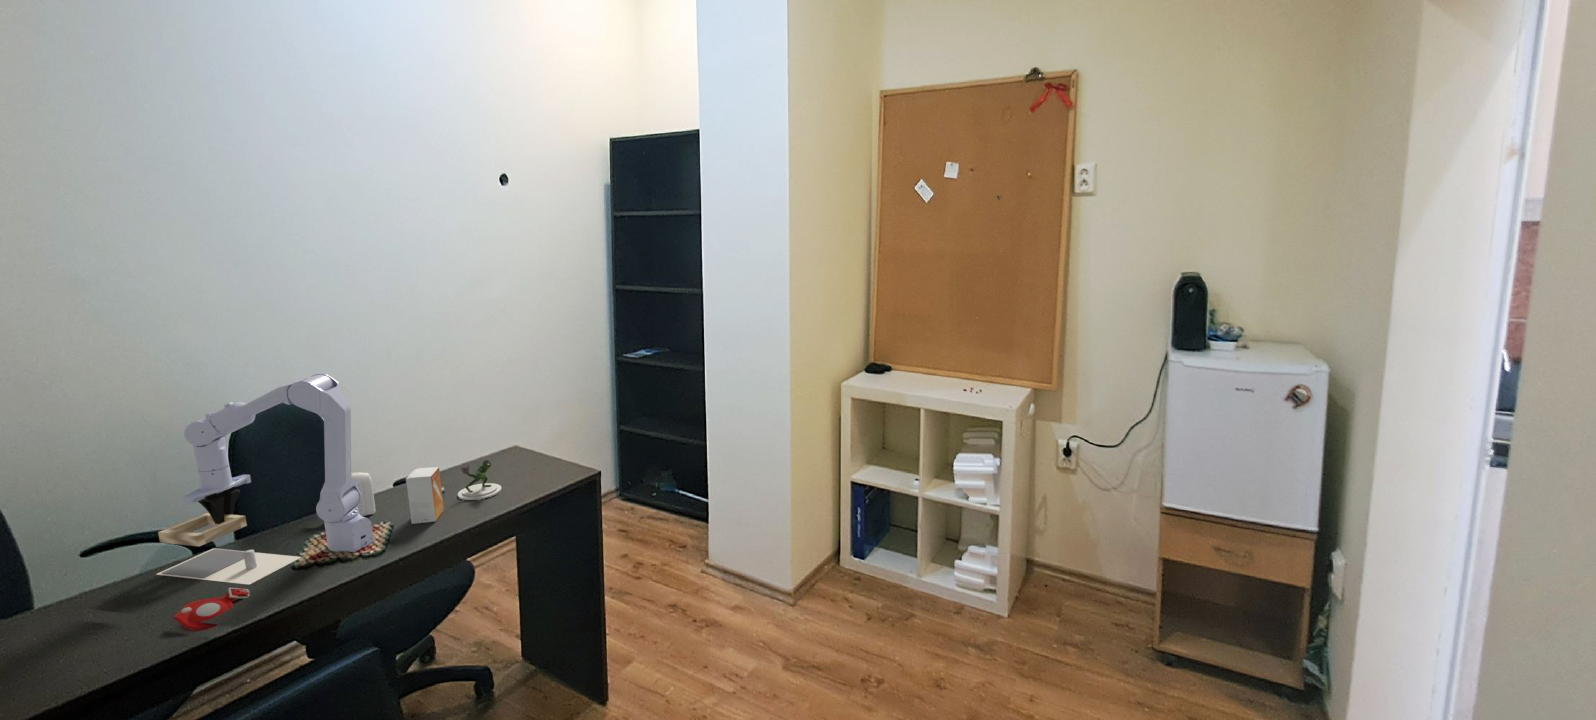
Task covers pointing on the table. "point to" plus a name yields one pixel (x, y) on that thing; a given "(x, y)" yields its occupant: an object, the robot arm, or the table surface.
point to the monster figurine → (479, 489)
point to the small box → (425, 495)
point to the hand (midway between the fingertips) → (223, 521)
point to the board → (230, 566)
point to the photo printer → (365, 493)
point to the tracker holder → (208, 609)
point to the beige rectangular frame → (187, 537)
